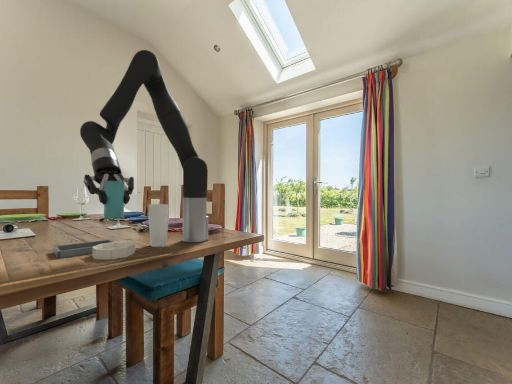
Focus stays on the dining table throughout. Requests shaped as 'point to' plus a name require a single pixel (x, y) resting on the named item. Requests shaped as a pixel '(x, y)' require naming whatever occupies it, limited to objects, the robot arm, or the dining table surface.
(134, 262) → the dining table surface
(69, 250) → the parts tray
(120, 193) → the teal cylinder
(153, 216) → the drinking glass
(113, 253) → the cream bowl
